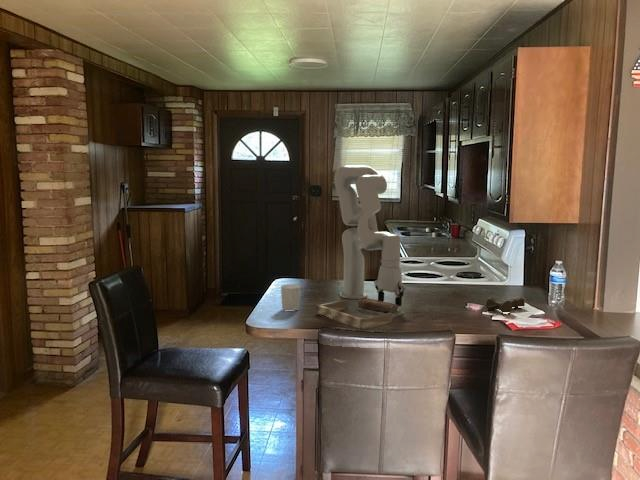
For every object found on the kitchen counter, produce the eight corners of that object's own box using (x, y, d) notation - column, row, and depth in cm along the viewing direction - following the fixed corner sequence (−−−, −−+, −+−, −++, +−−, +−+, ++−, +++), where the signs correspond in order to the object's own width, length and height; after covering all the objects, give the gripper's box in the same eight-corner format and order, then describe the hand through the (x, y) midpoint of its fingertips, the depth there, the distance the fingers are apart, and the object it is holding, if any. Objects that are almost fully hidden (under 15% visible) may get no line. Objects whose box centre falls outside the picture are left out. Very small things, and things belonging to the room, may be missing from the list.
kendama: (529, 312, 220) (497, 317, 210) (511, 307, 228) (478, 312, 218) (530, 298, 220) (497, 302, 209) (511, 293, 228) (479, 297, 218)
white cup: (302, 308, 220) (302, 285, 219) (295, 313, 213) (295, 289, 212) (285, 306, 223) (285, 283, 222) (278, 311, 216) (277, 287, 214)
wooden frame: (316, 313, 212) (316, 305, 212) (344, 307, 222) (344, 299, 221) (363, 329, 192) (363, 320, 191) (391, 322, 201) (392, 313, 201)
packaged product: (354, 300, 217) (368, 295, 224) (354, 311, 217) (367, 306, 225) (391, 307, 206) (404, 302, 213) (391, 319, 206) (404, 314, 214)
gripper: (369, 261, 221) (368, 301, 224) (400, 267, 208) (399, 309, 211) (381, 260, 226) (380, 298, 229) (412, 265, 213) (411, 306, 216)
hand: (389, 303), depth 220 cm, fingers open, 9 cm apart
